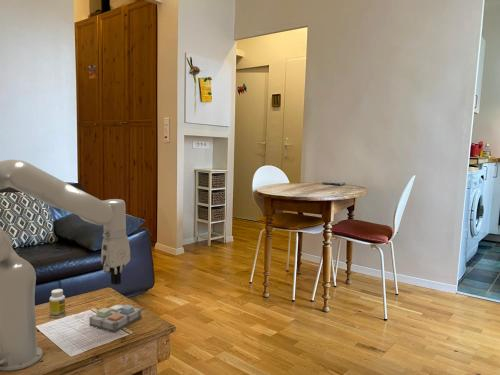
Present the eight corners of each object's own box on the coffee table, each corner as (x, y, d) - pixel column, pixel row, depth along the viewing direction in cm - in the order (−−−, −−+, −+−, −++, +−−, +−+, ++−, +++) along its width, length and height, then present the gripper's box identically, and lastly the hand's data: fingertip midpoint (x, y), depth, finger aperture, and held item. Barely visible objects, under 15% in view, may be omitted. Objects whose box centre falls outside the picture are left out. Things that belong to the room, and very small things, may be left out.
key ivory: (116, 316, 147) (116, 309, 147) (109, 314, 149) (109, 308, 148) (123, 312, 150) (122, 306, 150) (116, 311, 152) (116, 304, 151)
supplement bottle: (61, 318, 148) (60, 293, 147) (47, 318, 148) (46, 293, 147) (68, 312, 153) (67, 288, 152) (54, 312, 153) (53, 288, 152)
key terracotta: (115, 325, 140) (115, 318, 139) (108, 323, 141) (108, 317, 141) (122, 322, 143) (122, 315, 142) (115, 320, 144) (115, 313, 144)
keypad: (114, 333, 137) (114, 324, 137) (89, 325, 142) (89, 317, 142) (141, 317, 150) (141, 309, 149) (117, 311, 155) (117, 303, 154)
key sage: (104, 319, 142) (104, 312, 141) (97, 317, 143) (97, 310, 143) (111, 315, 145) (111, 309, 144) (104, 314, 146) (104, 307, 146)
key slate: (127, 316, 145) (127, 309, 145) (120, 314, 146) (120, 307, 146) (133, 312, 148) (133, 306, 148) (127, 311, 149) (126, 304, 149)
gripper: (106, 239, 130) (108, 292, 132) (137, 231, 144) (138, 279, 146) (90, 236, 134) (92, 288, 136) (122, 228, 147) (123, 275, 149)
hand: (116, 283), depth 141 cm, fingers closed
